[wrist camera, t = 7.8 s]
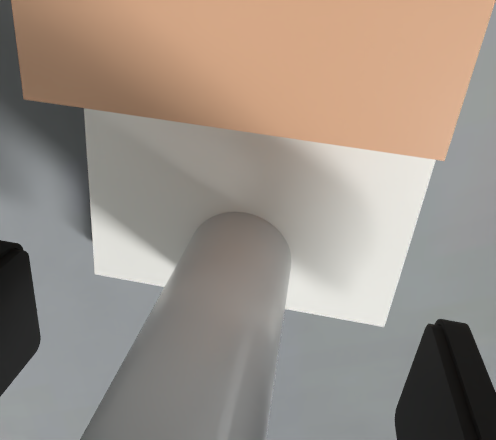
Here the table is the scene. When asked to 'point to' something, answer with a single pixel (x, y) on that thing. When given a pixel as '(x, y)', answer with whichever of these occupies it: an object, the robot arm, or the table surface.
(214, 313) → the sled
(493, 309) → the table surface
